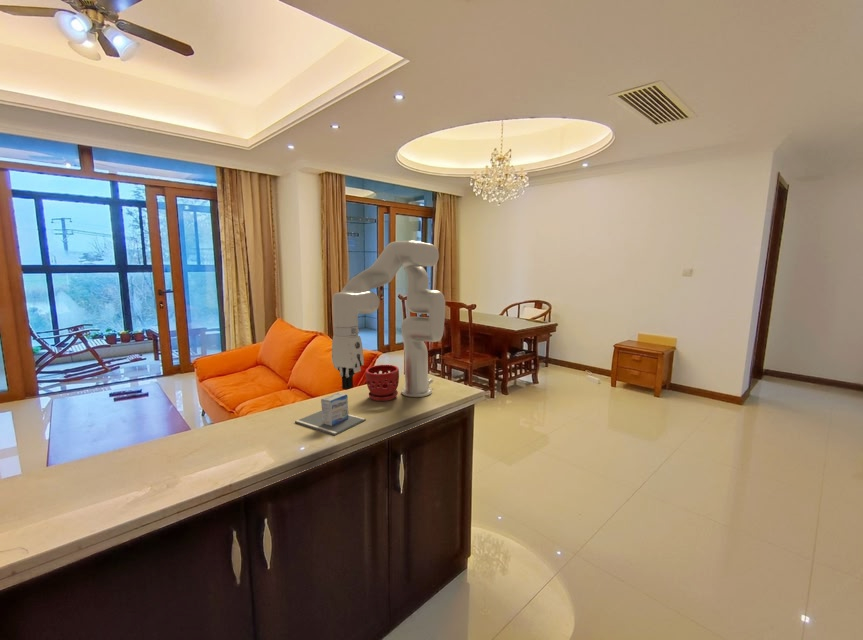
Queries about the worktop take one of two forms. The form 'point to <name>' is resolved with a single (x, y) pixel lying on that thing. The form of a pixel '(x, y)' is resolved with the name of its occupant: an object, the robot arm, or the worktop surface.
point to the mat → (317, 423)
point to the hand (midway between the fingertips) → (347, 388)
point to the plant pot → (382, 382)
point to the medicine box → (334, 409)
